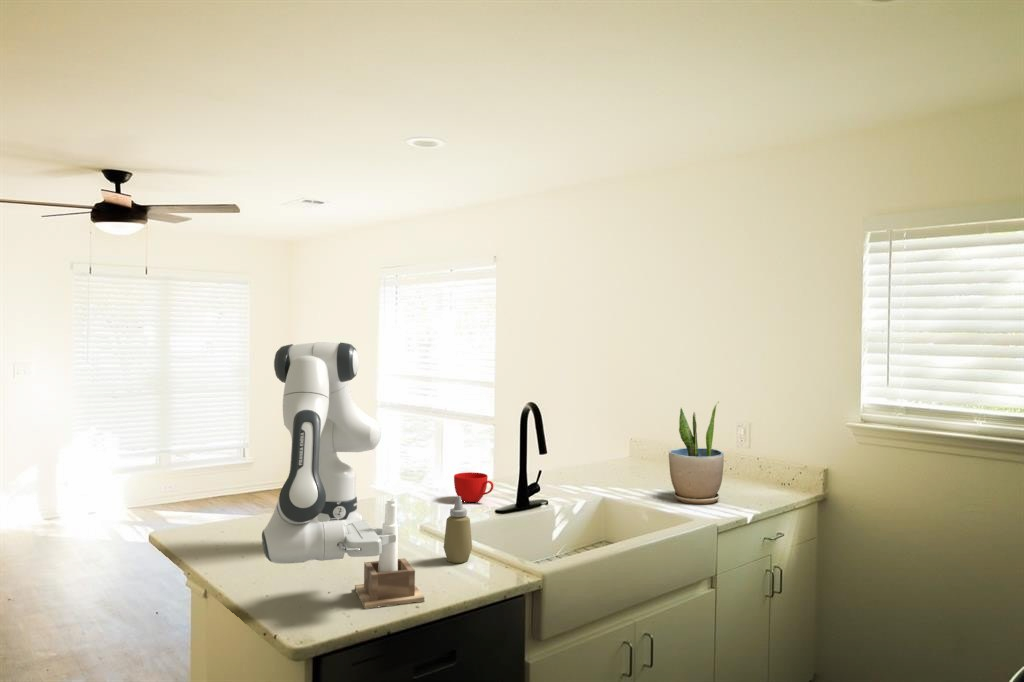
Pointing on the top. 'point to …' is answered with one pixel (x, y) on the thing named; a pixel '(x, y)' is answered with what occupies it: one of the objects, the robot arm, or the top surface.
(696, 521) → the top surface
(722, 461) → the potted plant
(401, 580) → the holder
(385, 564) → the cosmetic bottle
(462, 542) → the squeeze bottle
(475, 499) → the ceramic cup
